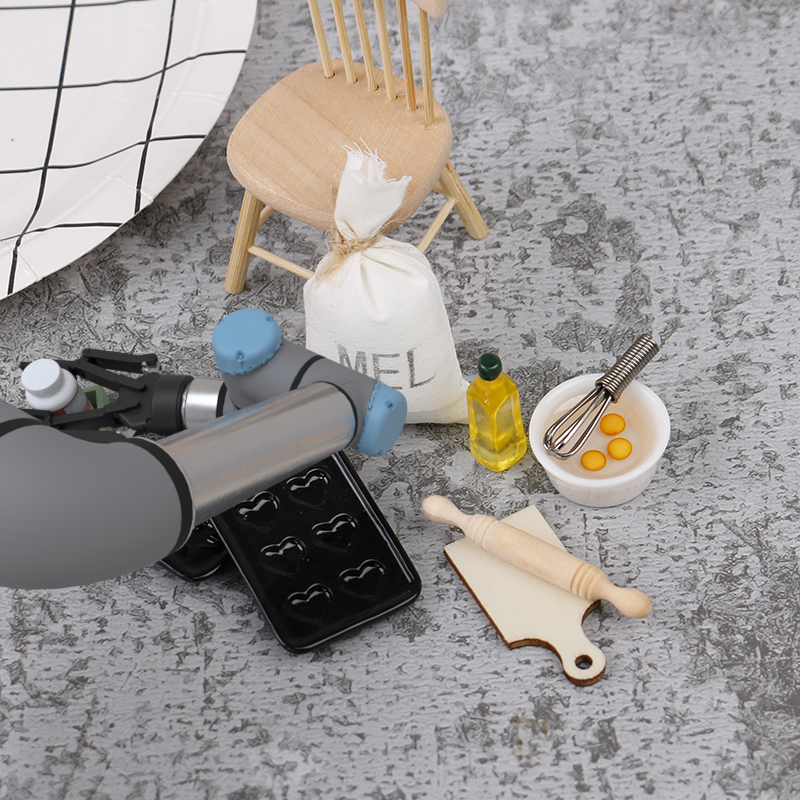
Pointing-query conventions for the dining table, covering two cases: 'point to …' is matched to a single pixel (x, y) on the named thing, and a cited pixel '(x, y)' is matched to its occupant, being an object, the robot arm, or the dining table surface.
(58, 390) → the pill bottle
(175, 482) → the robot arm
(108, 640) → the dining table surface
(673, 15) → the dining table surface
